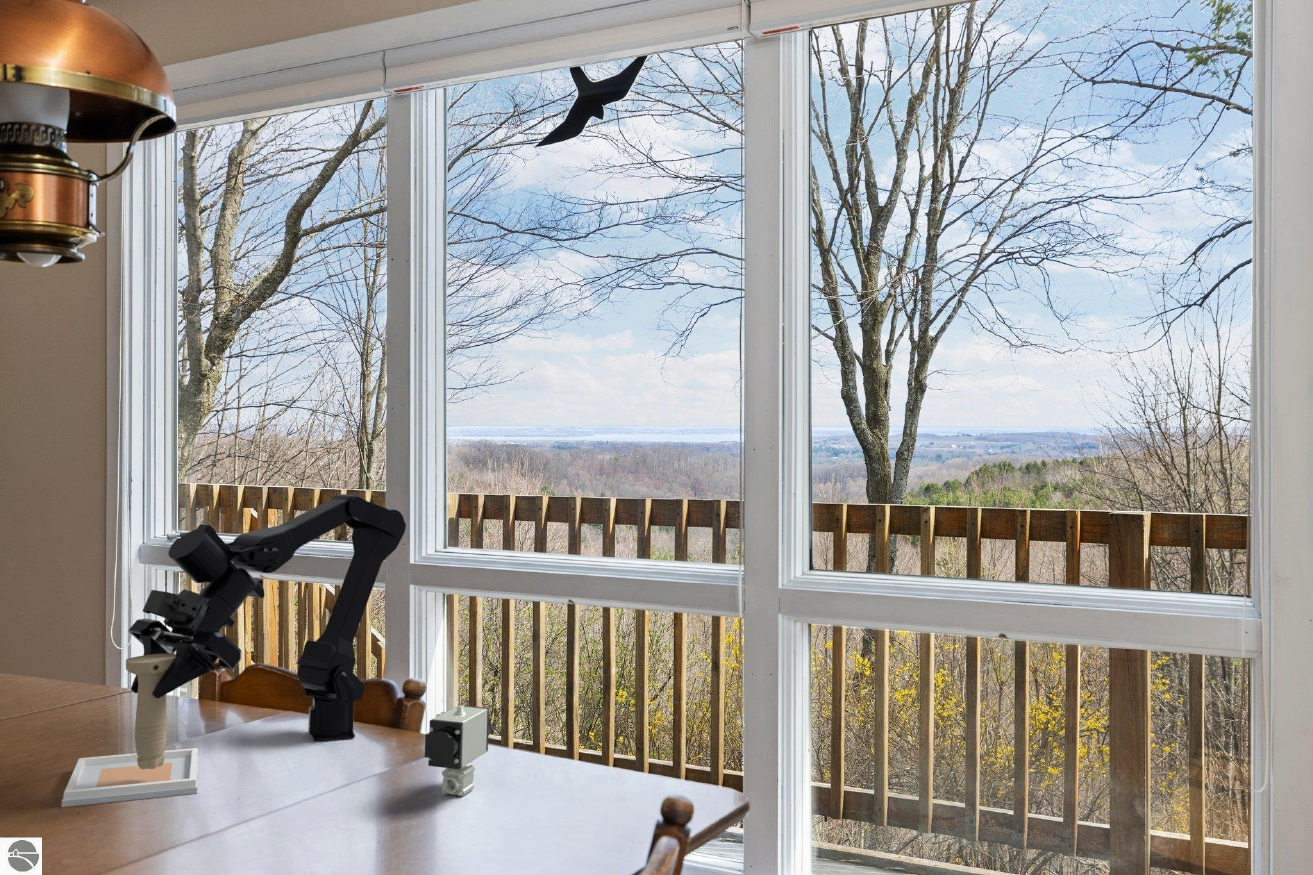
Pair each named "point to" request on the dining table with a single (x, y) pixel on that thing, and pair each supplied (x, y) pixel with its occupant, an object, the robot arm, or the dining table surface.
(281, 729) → the dining table surface
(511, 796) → the dining table surface
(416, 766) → the dining table surface
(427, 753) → the pneumatic valve
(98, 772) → the white shallow tray
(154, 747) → the handle
